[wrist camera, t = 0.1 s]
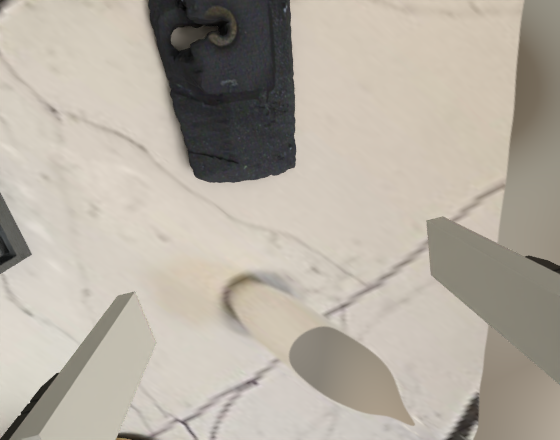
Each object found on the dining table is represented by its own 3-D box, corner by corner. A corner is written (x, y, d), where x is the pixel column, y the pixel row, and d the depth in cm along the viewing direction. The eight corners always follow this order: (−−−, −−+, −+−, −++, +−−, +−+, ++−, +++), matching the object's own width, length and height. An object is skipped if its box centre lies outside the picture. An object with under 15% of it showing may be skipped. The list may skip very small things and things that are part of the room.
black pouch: (181, 184, 41) (172, 192, 36) (146, -19, 34) (130, -40, 29) (300, 174, 42) (306, 180, 37) (289, -26, 35) (295, -48, 30)
